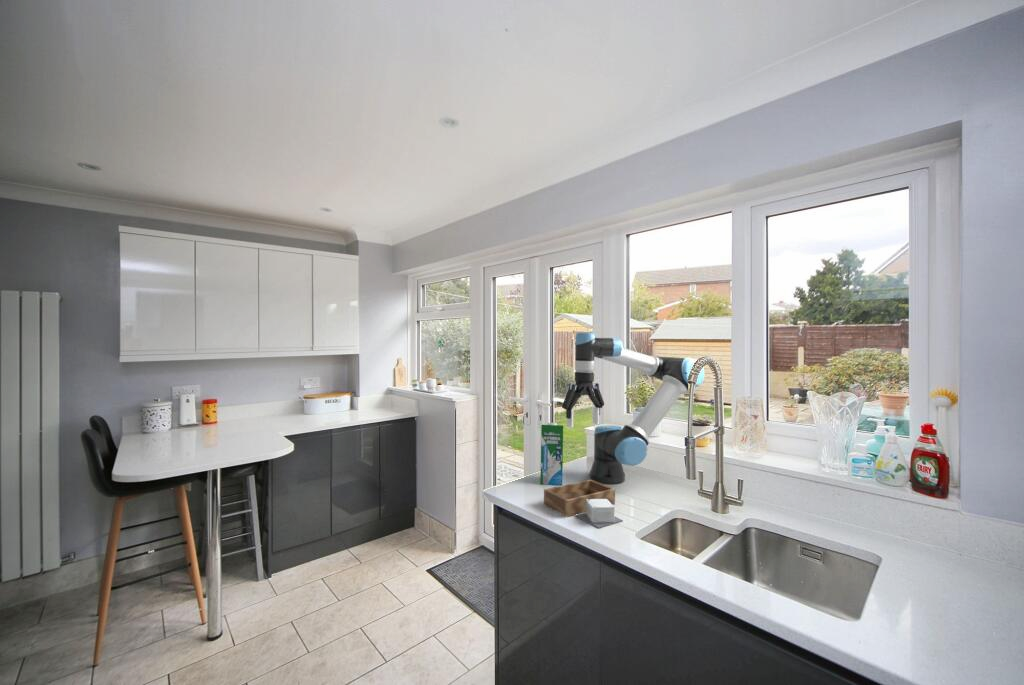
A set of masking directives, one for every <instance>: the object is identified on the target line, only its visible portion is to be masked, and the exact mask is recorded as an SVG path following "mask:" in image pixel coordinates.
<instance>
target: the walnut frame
mask: <svg viewBox="0 0 1024 685" xmlns="http://www.w3.org/2000/svg"><path fill="white" fill-rule="evenodd" d="M586 499H608V501H609V502H610V503H611V504H612V505H613V506H614V505H616V489H615V488H613V487H610V486H608V485H605V484H604V483H600V482H596V481H594V480H592V479H591V478H590V479H587V480H581V481H577V482H573V483H568V484H562V485H557V486H555V487H554V486H553V487H550V488H545V489H543V506H545V505H546V506H545V507H547V506H548V507H547V508H549V509H550V510H553V511H554V510H555V512H556V511H557V513H558V512H559V513H558V514H560V513H561V514H560V515H562V514H563V515H562V516H564V515H565V516H567V517H566V518H568V516H570V517H572V515H573V516H576V514H577V515H578V514H582V513H586ZM565 516H564V517H565Z"/></svg>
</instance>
